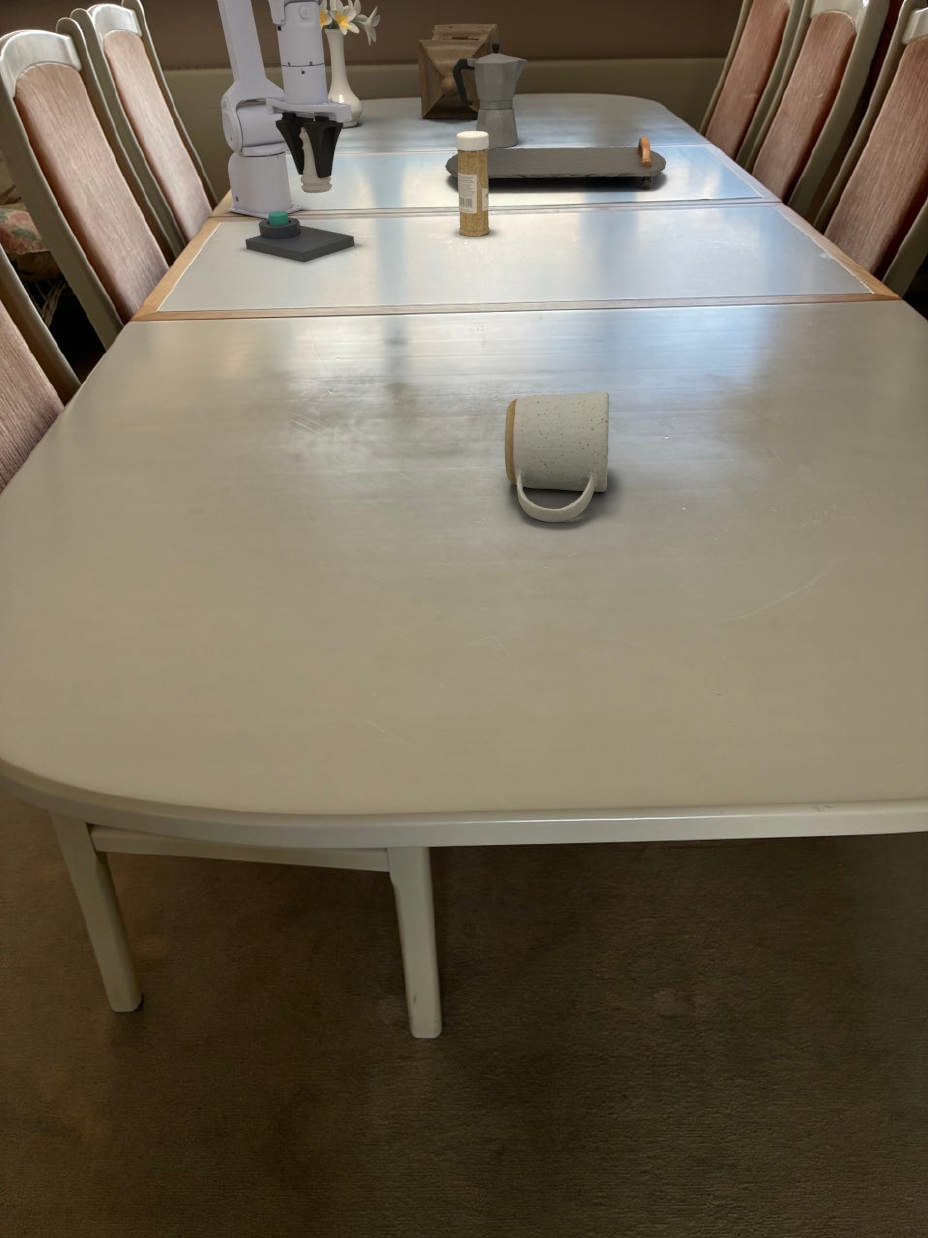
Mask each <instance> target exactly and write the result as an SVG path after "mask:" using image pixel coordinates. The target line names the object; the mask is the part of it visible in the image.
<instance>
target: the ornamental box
mask: <svg viewBox="0 0 928 1238" xmlns="http://www.w3.org/2000/svg"><path fill="white" fill-rule="evenodd" d="M430 31H431V39H420V40H418V42H417V59H418V77H419V89H420V90H419V91H420V102H421V103H420V104H421V105H420V107H421V117H422V119H478V112H479V109H480V99H478V95H477V88H476V81H475V74H474V70H467V69H463V70H462V71H461V75H462V77H463V84H464V87H465V89H466V96H467V99H468V100H473V104H472V105H471V106H466V105H463V104H462V101H461V98H460V95H459V92H458V89H457V86H456V83H455V80H454V77H453V74H452V70H453V67H454V66H455V65H456V63H457V62H458V60H459V59H466V58H467V59H479V58H482V57H484V56H487V55H490V54H493V49H492V44H493V43H499V27H498V24H497V23H486V24H485V23H484V24H483V23H482V24H480V23H451V24H448V23H447V24H435V25H433V29H431V30H430Z"/></svg>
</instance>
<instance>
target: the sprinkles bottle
mask: <svg viewBox="0 0 928 1238" xmlns="http://www.w3.org/2000/svg"><path fill="white" fill-rule="evenodd" d="M455 136H456V137H455V141H456V142H455V146H456V149H457V154H458V178H457V189H458V191H457V192H458V193H457V194H458V210H459V230H458V231H459V233H460V235H462V236H465V237H482V236H486V235H487V234H489V233H490V227H489V226H490V225H489V221H490V220H489V208H490V206H489V178H488V166H487V165H488V163H487V151H488V149H489V148H488V147H489V136H488V133H486V132H482V131H476V130H467V131H466V130H465V131H461V132H458V133H457V134H456V135H455Z"/></svg>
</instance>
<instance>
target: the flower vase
mask: <svg viewBox="0 0 928 1238" xmlns="http://www.w3.org/2000/svg"><path fill="white" fill-rule="evenodd" d="M347 3H348V5H345V6H344V5H343V2H342V1H341V0H329V10H328V9H327V8H328V1H327V0H323V3H322V5H320V6H319V11H320V21H321V31H322V30H323V27H324V26H325V27H326V28H325V29H324V33H325V34H326V37H327V41H328V47H329V52H330V65H331V83H330V87H329V90H328V91H329V92H328V98H332V101H336V102H340V103H344V104H350V105H351V116H352V121H346V122H343V128H342V129H344V128H346V129H347V128H352V127H355V126H357V124H358V122H357V120H358V119H359V118H360V117H361V116H362V114H363V105H362V102H361V101H360V99H359V98H358V96H357V95H356V94H355V93H354V92H353V90H352V89H351V86H350V84H349V81H348V80H349V79H348V77H347V69H346V62H345V52H344V50H345V49H344V47H345V46H344V42H345V36H346V35H347V34H348V32H349V33H352V32H353V33H354V34H360V29H359V28H358V27H360V28H361V29H362V30H363V31H364V32H365V33H366V36H367V40H368V46H369V47H370V46H371V43H372V42H373V43H376V41H377V33H376V29H375V27H377V26H378V25H379V23H380V20H381V15H379V14H378V15H377V12H378V7H379V6H378V5H376V6H375V8H374V10H373V11H372V12H371V14H370V15H369V16H366V15H365V14H360V13H361V10H362V5H361V2H360V0H355V1H354V4H353V2H352V0H347Z"/></svg>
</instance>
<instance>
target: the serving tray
mask: <svg viewBox="0 0 928 1238" xmlns="http://www.w3.org/2000/svg"><path fill="white" fill-rule="evenodd" d="M487 149H488V151H487V163H488V165H487V166H488V179H521V178H522V179H524V178H525V179H526V178H527V179H528V178H529V179H530V178H531V179H532V178H536V179H539V178H615V177H616V178H620V177H621V178H623V177H625V178H626V177H629V178H630V177H632V178H633V177H641V178H640V181H639V184H640V188H641V189H642V190H650V189H651V187H652V186H653V184H654V180H653V177H654V176H657V175H659V174H661V173H662V172H663V171H664V170H665V169H666V166H667V160H666V158H665V157H664V156H662V155H661V154H660V153H659V152H657V151H654V150H651V143H650V139H649V137H647V136H641V137H639V139H638V144H637V146H594V147H593V146H588V147H527V148H525V147H515V148H512V147H509V148H487ZM444 168H445V170H446V171H447V172H448V173H449V174H450V175H451V176H454V177H455V178H457V179H458V153H456V154H454V155H453V156H451V157H450V158H448V159H447V161H446V163H445V166H444Z"/></svg>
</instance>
